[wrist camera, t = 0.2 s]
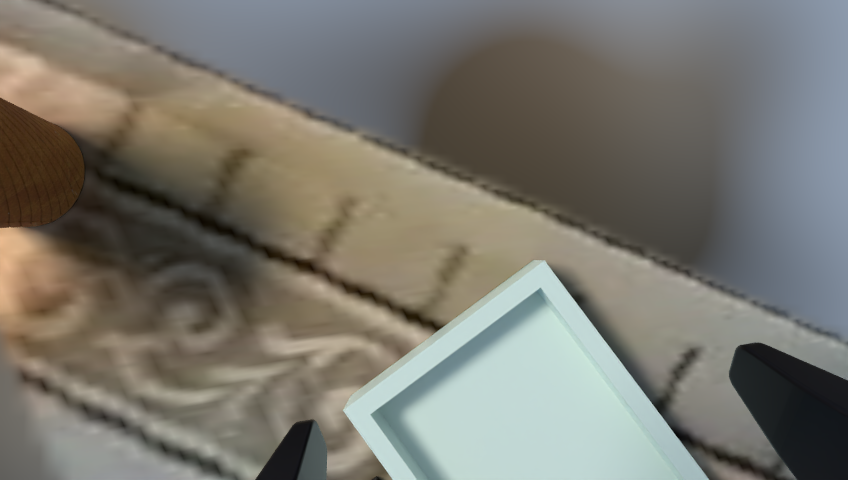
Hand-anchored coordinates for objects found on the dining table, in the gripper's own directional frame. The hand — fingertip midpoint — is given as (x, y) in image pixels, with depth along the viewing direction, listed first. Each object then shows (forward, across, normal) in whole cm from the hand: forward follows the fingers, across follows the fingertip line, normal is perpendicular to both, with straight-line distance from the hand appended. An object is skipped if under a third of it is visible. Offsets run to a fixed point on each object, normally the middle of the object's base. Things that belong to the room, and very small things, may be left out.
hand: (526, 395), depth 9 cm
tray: (+8, -3, +16) cm, 18 cm away
